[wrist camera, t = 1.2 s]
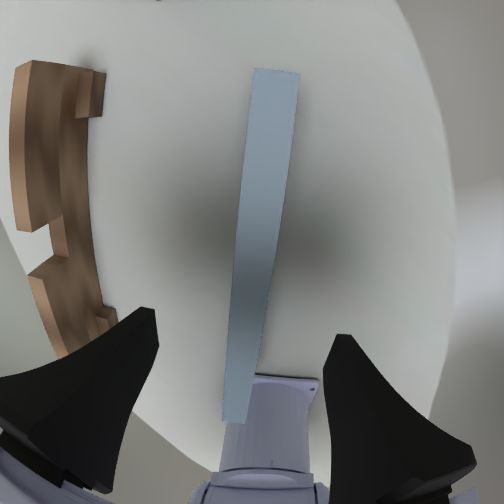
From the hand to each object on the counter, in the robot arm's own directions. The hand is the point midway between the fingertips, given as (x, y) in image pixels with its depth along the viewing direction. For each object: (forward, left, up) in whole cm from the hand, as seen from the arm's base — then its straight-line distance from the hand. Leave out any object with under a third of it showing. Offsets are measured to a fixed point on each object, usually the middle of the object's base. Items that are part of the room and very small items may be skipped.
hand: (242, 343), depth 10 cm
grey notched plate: (0, 0, -8) cm, 8 cm away
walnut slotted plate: (+1, +13, -8) cm, 15 cm away
